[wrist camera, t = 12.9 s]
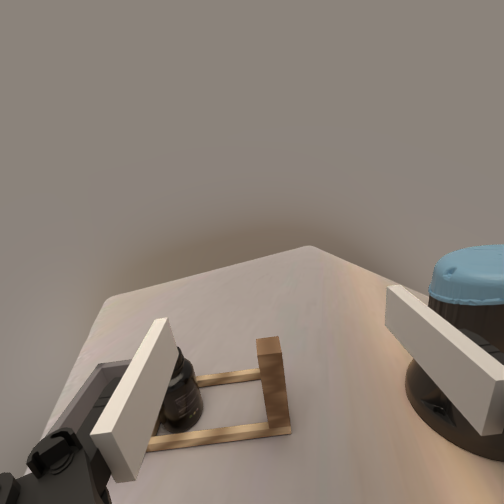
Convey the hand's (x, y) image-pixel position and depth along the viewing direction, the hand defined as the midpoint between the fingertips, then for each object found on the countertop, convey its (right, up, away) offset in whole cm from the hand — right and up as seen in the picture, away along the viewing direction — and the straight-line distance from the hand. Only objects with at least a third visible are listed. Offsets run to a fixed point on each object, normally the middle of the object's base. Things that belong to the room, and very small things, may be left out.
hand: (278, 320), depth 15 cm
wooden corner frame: (-7, -21, +25) cm, 34 cm away
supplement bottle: (-13, -23, +26) cm, 36 cm away
